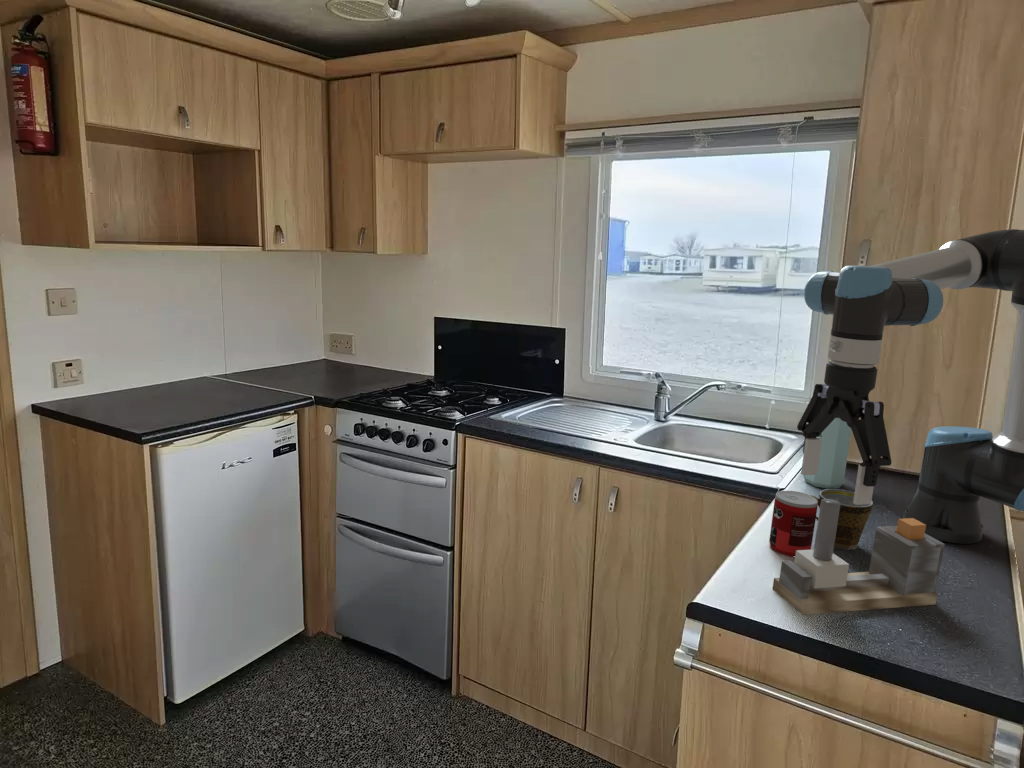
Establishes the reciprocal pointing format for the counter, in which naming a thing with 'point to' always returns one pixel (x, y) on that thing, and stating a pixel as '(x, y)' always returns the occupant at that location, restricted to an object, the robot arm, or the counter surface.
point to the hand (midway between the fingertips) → (834, 488)
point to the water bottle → (832, 456)
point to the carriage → (824, 551)
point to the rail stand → (872, 578)
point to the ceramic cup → (847, 517)
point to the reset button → (911, 529)
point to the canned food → (792, 522)
